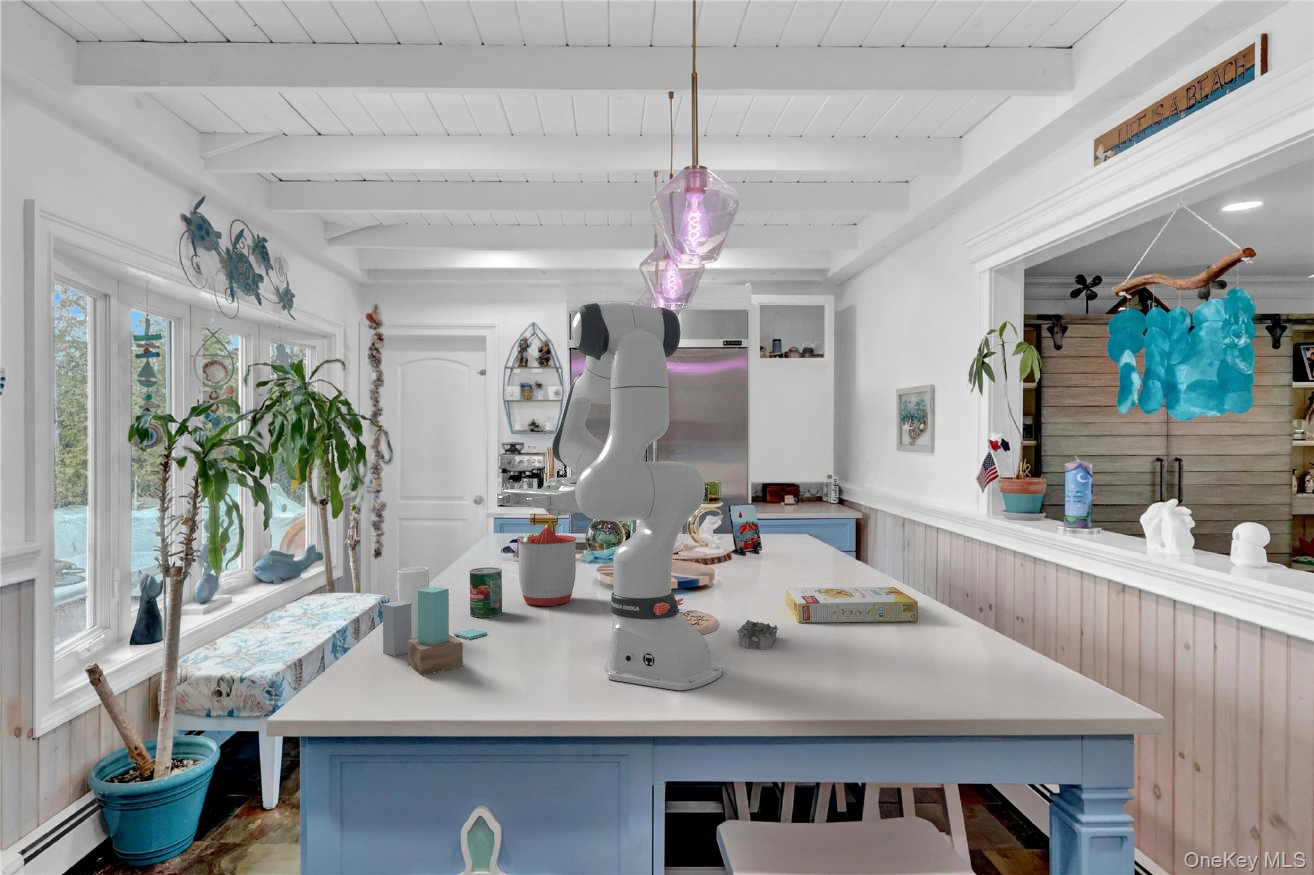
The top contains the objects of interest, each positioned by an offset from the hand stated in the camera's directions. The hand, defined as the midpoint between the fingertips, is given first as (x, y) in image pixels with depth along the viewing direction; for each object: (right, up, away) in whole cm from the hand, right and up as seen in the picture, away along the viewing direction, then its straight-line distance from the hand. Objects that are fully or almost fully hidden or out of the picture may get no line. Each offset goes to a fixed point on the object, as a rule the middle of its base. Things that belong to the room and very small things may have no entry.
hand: (513, 501), depth 161 cm
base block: (-12, -30, -19) cm, 38 cm away
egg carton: (+53, -30, -4) cm, 61 cm away
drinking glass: (-23, -30, +2) cm, 38 cm away
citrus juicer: (+1, -30, +36) cm, 47 cm away
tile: (-10, -30, +3) cm, 32 cm away
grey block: (-22, -30, -9) cm, 39 cm away
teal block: (-12, -25, -19) cm, 34 cm away
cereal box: (+78, -30, +21) cm, 86 cm away
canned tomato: (-11, -30, +23) cm, 39 cm away
